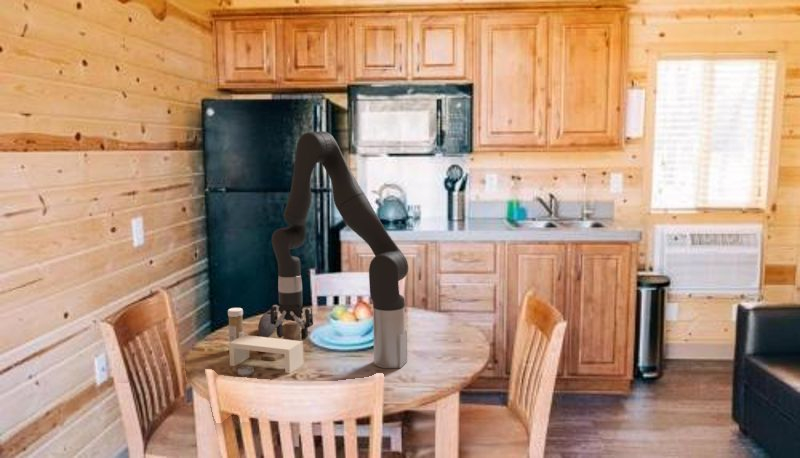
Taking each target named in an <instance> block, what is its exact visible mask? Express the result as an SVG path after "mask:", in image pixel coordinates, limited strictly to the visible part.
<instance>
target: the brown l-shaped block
mask: <svg viewBox="0 0 800 458" xmlns="http://www.w3.org/2000/svg"><path fill="white" fill-rule="evenodd" d="M282 325H283V337H282V339H287V340H296V341H301V326H300V325H299V324H298V323H297V322H294V321H293V322H292V321H291V322H290V321H288V322H286V323H284V324H282ZM283 356H285V354H278V353H269V352H265V354H263V355H262V356H261V359H262V360H266V361H273V362H274V361H277V360H278V359H280V358H281V357H283Z"/></svg>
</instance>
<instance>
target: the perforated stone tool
mask: <svg viewBox="0 0 800 458" xmlns="http://www.w3.org/2000/svg"><path fill="white" fill-rule="evenodd" d="M270 319H271V309H269V310H267V311H266V312H265V313H263V315H261V318H260V319H259V321H258V327H257V333H258V334H259V337H270V335H271V334H273V333H274V332H275V330H277V328H276V325H274V324H271V323H270Z"/></svg>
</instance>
